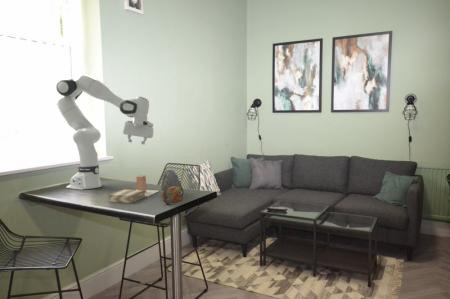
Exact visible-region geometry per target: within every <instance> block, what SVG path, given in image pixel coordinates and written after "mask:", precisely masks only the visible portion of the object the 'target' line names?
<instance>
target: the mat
mask: <svg viewBox="0 0 450 299" xmlns="http://www.w3.org/2000/svg"><path fill="white" fill-rule="evenodd" d="M157 193H160V190H156V189H155V190H153V189H146V192H145V197H151V196H153V195H154V194H157Z"/></svg>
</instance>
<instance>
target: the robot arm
mask: <svg viewBox="0 0 450 299" xmlns="http://www.w3.org/2000/svg"><path fill="white" fill-rule="evenodd" d="M55 87H56V88H55V89H56V91H57V93H58V94H60V96H59V97H58V98H57V99H56V106H57V108H58V109H59V112H60V113H61V115H62V117H63V118H64V119H65V121H66V123H67V124H68V126H69V127H71V128H72V129H73V130H74V131H75V132H74V133H73V136H72V139H73V142H74V143H75V144H76V146H77V150H78V155H79V165H80V166H79V167H76V169H77V171H78V172H76V173H75V174H74V175H73V176H71V178H70V180H69V184H68V185H67V186H65V187H66V189H73V190H81V191H82V190H89V189H90V190H91V189H96V188H97V189H98V188H101V187H102V182H101V177H100V166H99V159H98V151H96V147H95V144H97V142H99V141H100V139H101V136H102V135H101V134H102V133H101V132H100V130H99V129H97V128H96V127H95V126H94V125H93V124H92V122H90V121H89V120H88V118H86V116H85V115H84V113H83V112H82V110H81V109H80V108H79V106H78V105H77V103H76V101H75V100H77V99H78V98H79V97H80V96H81V95H82V94H83V93H85V94H87V95H89V96H90V97H93V98H95V99H97V100H101V101H104V102H107V103H109V104H112V105H113V106H115V107H117V108H118V109H119V112H121V113H122V114H123V115H125V116H126V117H128V118H132V120H126V121H125V122H124V126H123V131H122V134H123V135H124V136H125V135H126V136H127V139H128V143H132V142H133V139H131V137H142V138H143V140H142V141H141V142H140V143H141V145H146V141H147V140H148V139H152V138H153V137H154V123H152V122H150V121H148V114H149V110H150V108H149V107H150V101H149V100H148V99H147V98H146V97H142V96H136V97H135V98H132V99H123V98H121V97H120V96H118V95H117V94H115V93H114V92H113V91H112V90H111V89H110V88H109V87H108V86H106V85H105V84H104V83H103V82H101V81H100V80H99V79H97V78H95V77H93V76H91V75H89V74H85V73H81V74H79V75H78V76H77V78H76V79H73V78H63V79H59V80H58V82H56V84H55Z"/></svg>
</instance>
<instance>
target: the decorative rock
mask: <svg viewBox="0 0 450 299" xmlns="http://www.w3.org/2000/svg"><path fill="white" fill-rule="evenodd" d="M174 186H181V187H182V188H183V186H182V183H181V180H180V179H179V176H178V174H177V173H176V172H175V171H174V170H172V169H169V170H167V171H165V172H164V174H163V176H162V180H161V187H160V188H161V190H162V191H163V192H164V190H165V189H167V188H170V187H174Z"/></svg>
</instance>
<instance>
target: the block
mask: <svg viewBox="0 0 450 299" xmlns="http://www.w3.org/2000/svg"><path fill="white" fill-rule="evenodd" d="M135 178H136V179H135V180H136V190H145V192H146V190H147V175H142V174H141V175H140V174H139V175H137V176H136V177H135Z"/></svg>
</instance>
